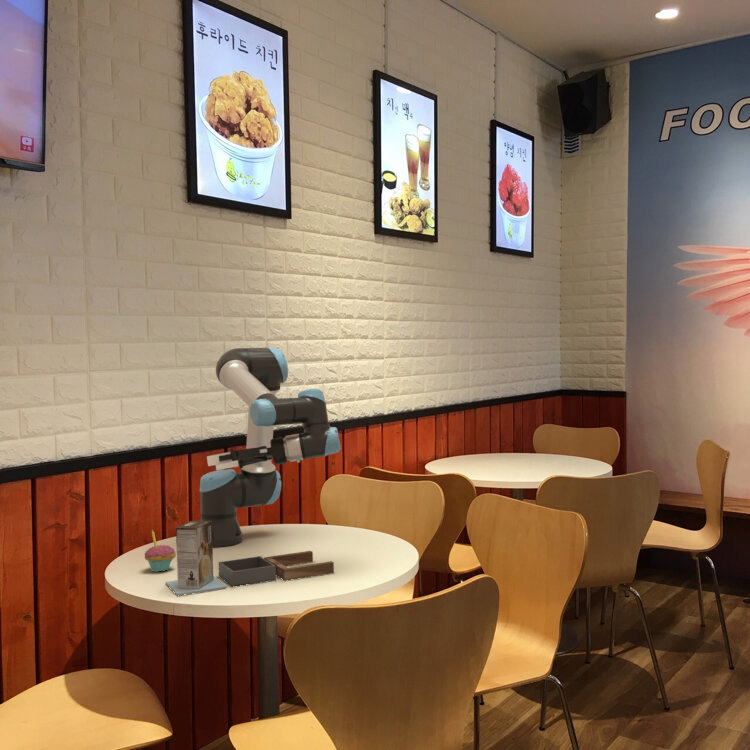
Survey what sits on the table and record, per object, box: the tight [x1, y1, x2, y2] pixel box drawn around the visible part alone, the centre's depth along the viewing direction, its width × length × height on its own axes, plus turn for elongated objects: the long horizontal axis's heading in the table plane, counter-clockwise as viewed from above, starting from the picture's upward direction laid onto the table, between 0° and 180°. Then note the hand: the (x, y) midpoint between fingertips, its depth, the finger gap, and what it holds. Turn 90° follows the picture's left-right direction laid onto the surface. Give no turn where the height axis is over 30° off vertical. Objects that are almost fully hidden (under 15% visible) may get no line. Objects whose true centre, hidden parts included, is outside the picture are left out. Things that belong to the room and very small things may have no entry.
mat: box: [165, 575, 228, 597], centre depth 210 cm, size 13×13×1 cm
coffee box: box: [175, 520, 214, 589], centre depth 210 cm, size 9×6×16 cm
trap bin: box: [217, 556, 277, 588], centre depth 217 cm, size 12×12×4 cm
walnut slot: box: [263, 550, 335, 581], centre depth 224 cm, size 16×15×3 cm
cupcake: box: [144, 529, 177, 572], centre depth 227 cm, size 9×8×12 cm
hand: (211, 463), depth 223 cm, fingers open, 13 cm apart
